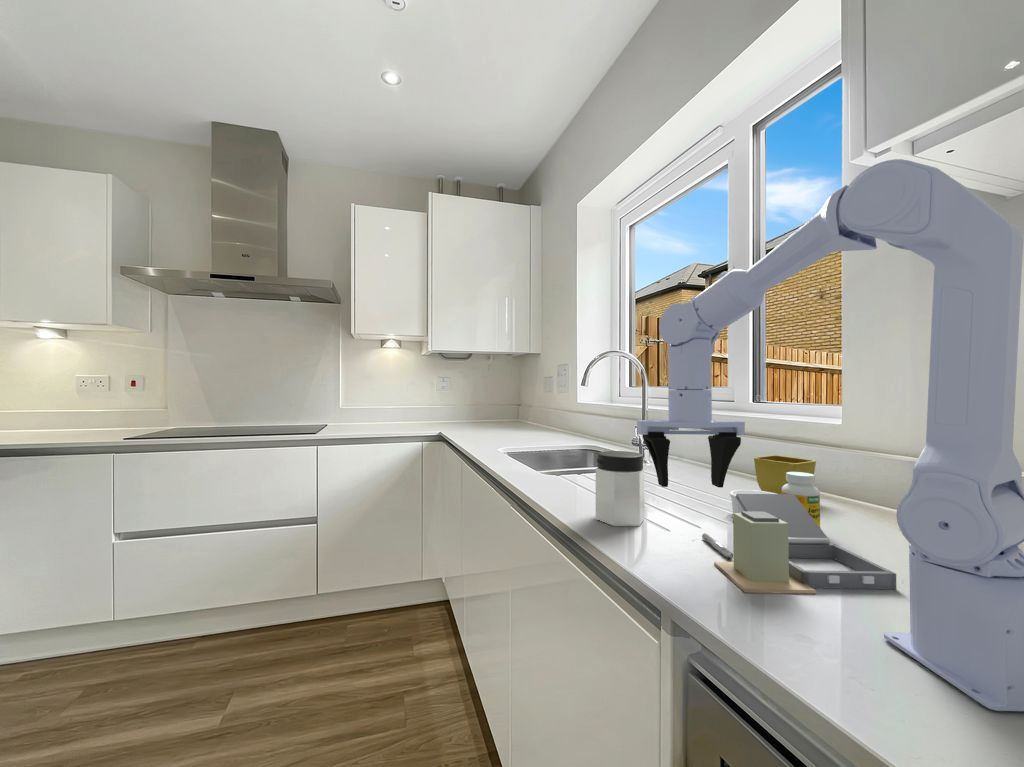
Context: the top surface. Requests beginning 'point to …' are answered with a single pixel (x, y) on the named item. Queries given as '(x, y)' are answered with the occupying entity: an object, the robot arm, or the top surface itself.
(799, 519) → the lid
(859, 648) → the top surface
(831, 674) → the top surface
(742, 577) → the mat
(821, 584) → the case
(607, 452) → the jar
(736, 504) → the ramekin
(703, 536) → the rod
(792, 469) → the flower pot
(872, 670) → the top surface
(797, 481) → the supplement bottle
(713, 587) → the top surface
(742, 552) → the block
